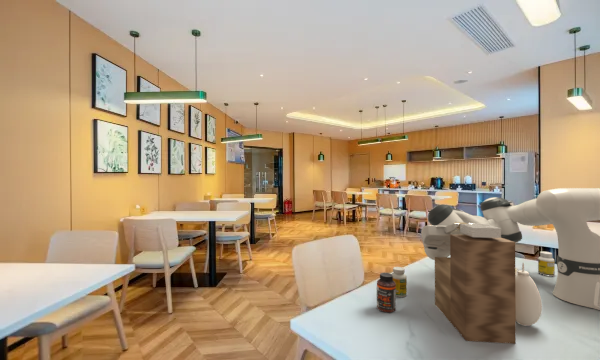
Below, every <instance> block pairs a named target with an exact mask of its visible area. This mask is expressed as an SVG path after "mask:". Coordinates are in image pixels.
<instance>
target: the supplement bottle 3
mask: <svg viewBox="0 0 600 360" xmlns="http://www.w3.org/2000/svg"><path fill="white" fill-rule="evenodd" d="M539 254H540V256H539V257H538V258H537V269H538V270H537V272H538V273H537V274H539V273H540V274H539V275H541V274H543V275H542V276H544V275H549V276H553V277H555V276H554V275H556V274H555V273H556V272H555V267H556V265H555V263H556V261H555V259H554V258H553V253H552V252H551V251H550V252H549V251H539ZM549 276H548V277H549Z"/></svg>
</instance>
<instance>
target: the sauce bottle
mask: <svg viewBox="0 0 600 360" xmlns="http://www.w3.org/2000/svg"><path fill="white" fill-rule="evenodd" d="M521 265H522V267H521V269H520V270H517V272H516V273H515V298H516V323H518V324H519V325H520V326H523V327H528V326H529V327H530V326H532V325H535V324H536V323H537V322H538V321H539V319H540V318H541V316H542V311H543V304H542V303H543V302H542V297H541V294H540V291H539V289H538V286H537V285H536V283H535V281H534V279H533V278H532V277H531V276H530V273H529V272H528V271H527V270H525V264H524V262H522V264H521Z"/></svg>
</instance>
